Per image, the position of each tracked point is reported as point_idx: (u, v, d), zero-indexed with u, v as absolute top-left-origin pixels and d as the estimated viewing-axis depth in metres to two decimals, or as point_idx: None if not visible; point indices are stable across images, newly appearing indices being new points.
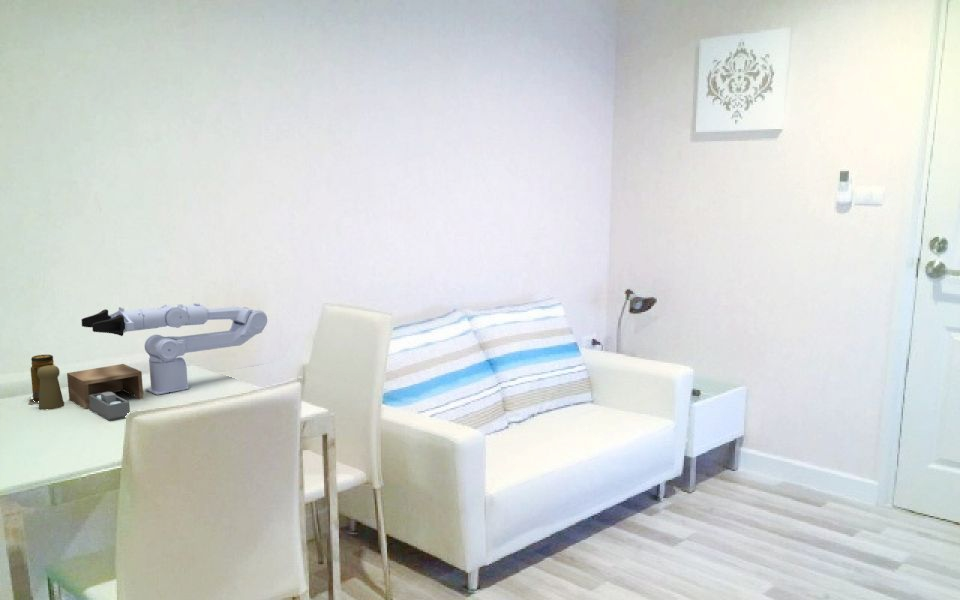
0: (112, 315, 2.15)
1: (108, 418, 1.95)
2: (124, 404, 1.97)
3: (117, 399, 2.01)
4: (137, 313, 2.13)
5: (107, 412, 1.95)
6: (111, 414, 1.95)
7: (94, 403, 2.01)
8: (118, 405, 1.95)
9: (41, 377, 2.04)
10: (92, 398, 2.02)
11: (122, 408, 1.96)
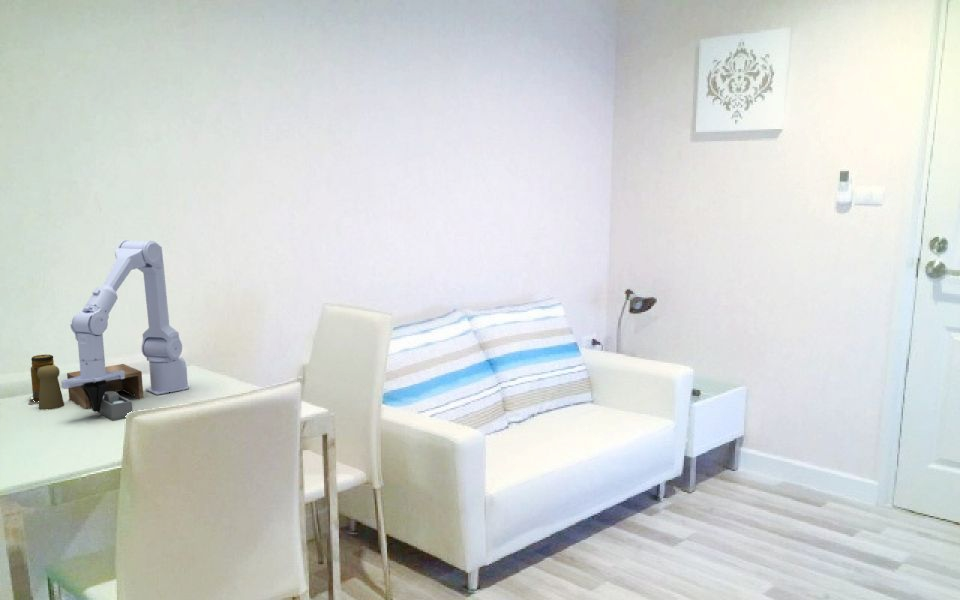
0: None
1: (110, 417, 1.96)
2: (127, 403, 1.97)
3: (120, 399, 2.02)
4: (102, 363, 1.96)
5: (109, 411, 1.95)
6: (114, 413, 1.95)
7: None
8: (121, 404, 1.96)
9: (41, 377, 2.04)
10: None
11: (125, 407, 1.97)
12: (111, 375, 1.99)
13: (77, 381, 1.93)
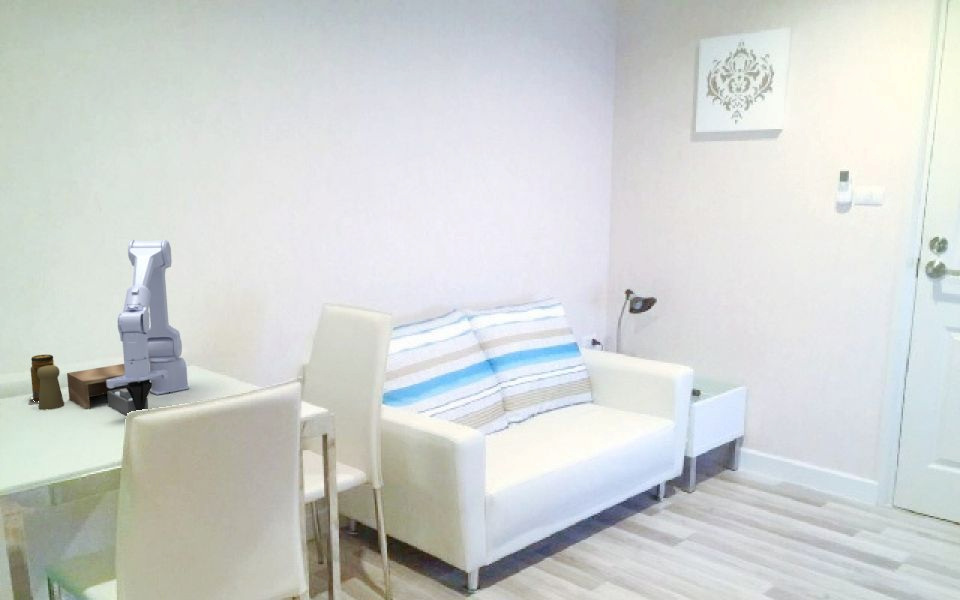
0: None
1: (126, 414, 1.99)
2: None
3: None
4: (147, 362, 1.96)
5: (126, 408, 1.99)
6: (130, 410, 1.98)
7: (113, 399, 2.05)
8: None
9: (41, 377, 2.04)
10: (110, 394, 2.05)
11: None
12: (155, 374, 1.98)
13: (122, 380, 1.93)
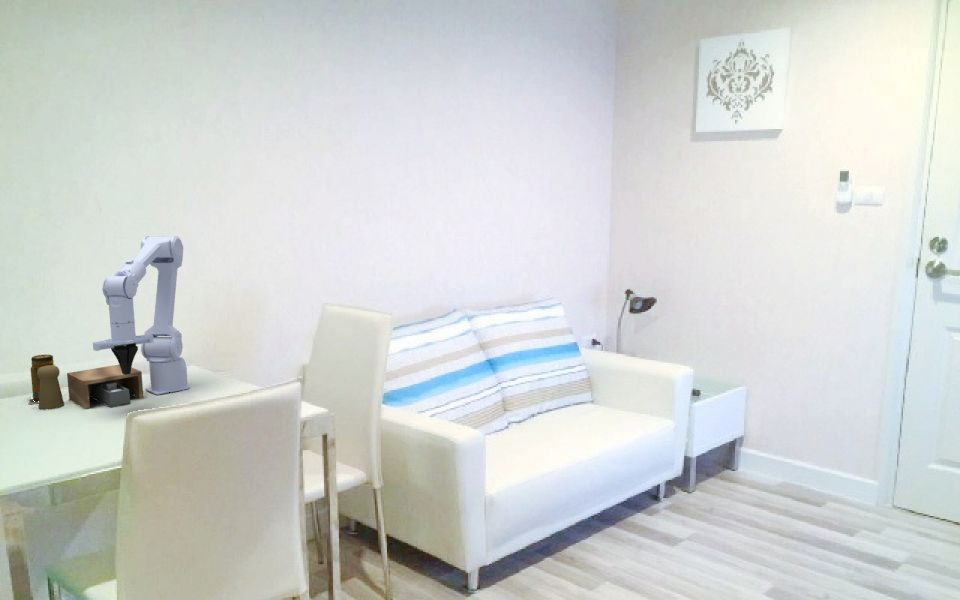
0: None
1: (109, 405, 2.07)
2: (124, 392, 2.08)
3: (118, 387, 2.13)
4: (133, 326, 2.00)
5: (108, 399, 2.07)
6: (112, 401, 2.06)
7: (96, 391, 2.13)
8: (118, 392, 2.07)
9: (41, 377, 2.04)
10: (94, 386, 2.14)
11: (122, 395, 2.08)
12: (141, 338, 2.02)
13: (108, 343, 1.96)
